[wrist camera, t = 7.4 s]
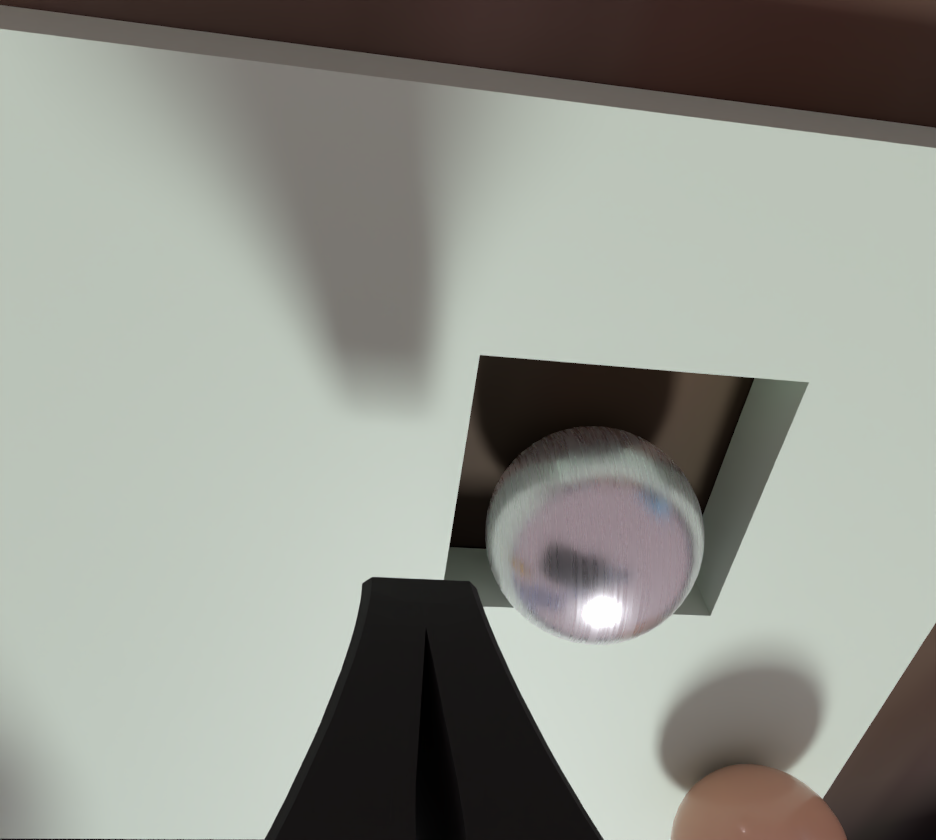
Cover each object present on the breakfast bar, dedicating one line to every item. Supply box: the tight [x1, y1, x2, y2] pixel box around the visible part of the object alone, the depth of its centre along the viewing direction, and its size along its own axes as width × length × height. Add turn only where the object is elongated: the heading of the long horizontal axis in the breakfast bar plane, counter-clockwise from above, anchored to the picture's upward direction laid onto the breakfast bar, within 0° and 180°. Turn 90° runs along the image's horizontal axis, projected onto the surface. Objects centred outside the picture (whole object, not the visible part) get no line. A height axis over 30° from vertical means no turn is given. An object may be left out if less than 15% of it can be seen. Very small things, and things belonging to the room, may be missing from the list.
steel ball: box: [485, 426, 704, 645], centre depth 13 cm, size 4×4×4 cm
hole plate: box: [0, 5, 936, 840], centre depth 14 cm, size 16×24×2 cm, turn 82°
